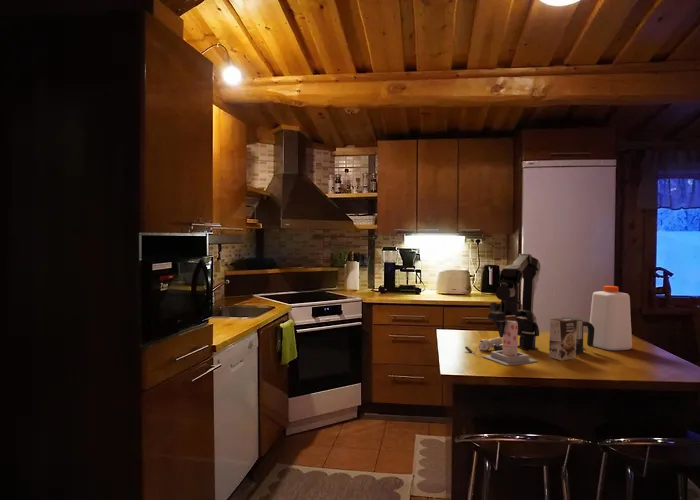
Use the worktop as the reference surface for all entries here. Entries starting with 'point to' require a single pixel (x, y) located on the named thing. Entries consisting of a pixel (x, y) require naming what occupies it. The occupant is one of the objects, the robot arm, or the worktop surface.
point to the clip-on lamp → (489, 344)
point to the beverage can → (510, 338)
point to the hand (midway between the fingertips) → (510, 336)
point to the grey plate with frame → (509, 358)
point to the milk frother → (580, 333)
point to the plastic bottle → (611, 319)
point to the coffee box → (562, 338)
